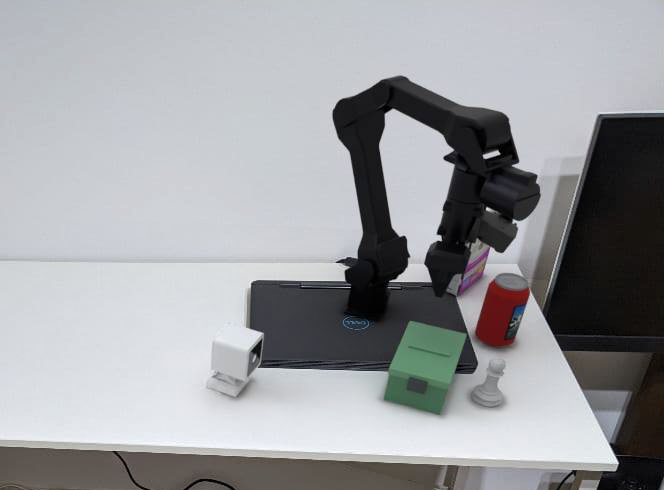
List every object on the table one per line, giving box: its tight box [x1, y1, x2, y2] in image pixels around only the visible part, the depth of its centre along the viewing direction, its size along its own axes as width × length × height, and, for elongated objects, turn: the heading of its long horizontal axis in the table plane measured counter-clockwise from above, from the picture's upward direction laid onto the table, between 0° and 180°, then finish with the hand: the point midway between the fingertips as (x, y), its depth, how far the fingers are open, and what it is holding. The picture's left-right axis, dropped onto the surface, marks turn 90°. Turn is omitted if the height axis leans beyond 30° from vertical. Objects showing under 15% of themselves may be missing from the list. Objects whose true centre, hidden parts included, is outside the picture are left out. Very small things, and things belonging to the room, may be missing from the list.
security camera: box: [205, 322, 265, 397], centre depth 138 cm, size 6×7×10 cm
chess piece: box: [470, 356, 507, 408], centre depth 135 cm, size 5×5×8 cm
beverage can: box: [474, 272, 531, 348], centre depth 148 cm, size 7×7×12 cm
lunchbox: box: [383, 320, 468, 416], centre depth 140 cm, size 9×16×7 cm, turn 153°
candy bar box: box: [445, 208, 496, 297], centre depth 162 cm, size 11×5×16 cm, turn 137°
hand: (444, 284), depth 141 cm, fingers open, 9 cm apart
